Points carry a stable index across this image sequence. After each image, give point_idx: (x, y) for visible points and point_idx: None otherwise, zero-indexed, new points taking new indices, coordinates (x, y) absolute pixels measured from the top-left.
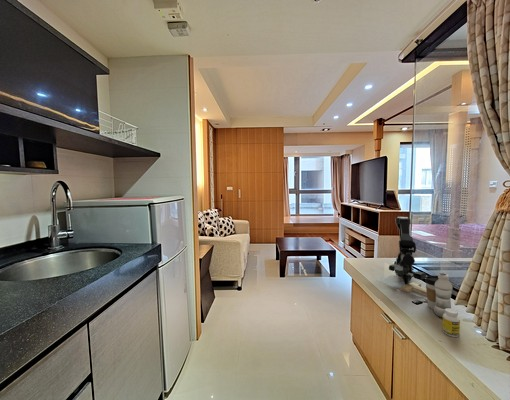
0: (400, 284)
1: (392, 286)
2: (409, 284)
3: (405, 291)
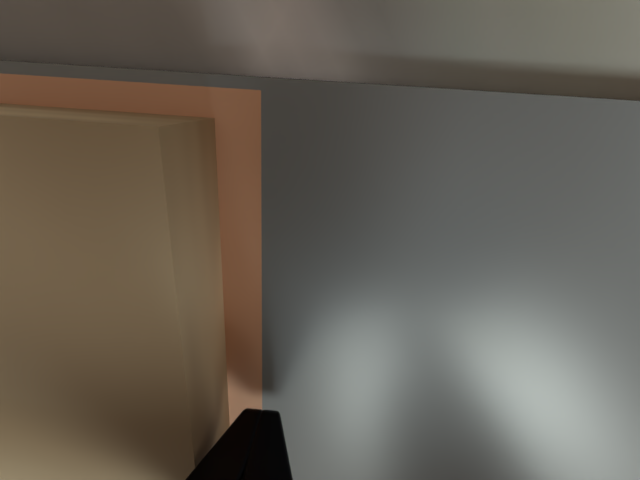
0: (413, 399)
1: (526, 100)
2: (146, 463)
3: (65, 76)
